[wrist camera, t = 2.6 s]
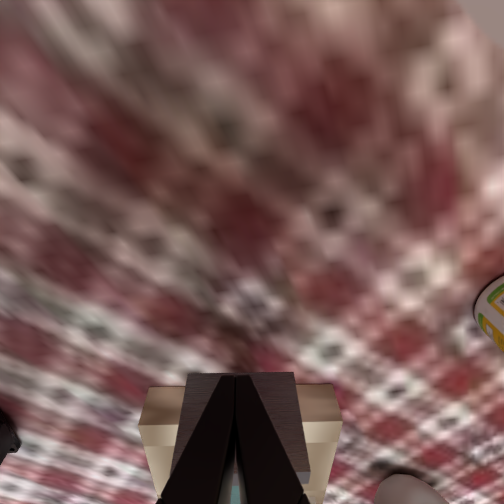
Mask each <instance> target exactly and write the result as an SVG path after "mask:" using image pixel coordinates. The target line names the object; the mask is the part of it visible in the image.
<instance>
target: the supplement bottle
mask: <svg viewBox="0 0 504 504" xmlns="http://www.w3.org/2000/svg"><path fill="white" fill-rule="evenodd" d="M474 315H475V319H476V322H477V324H478V325H479V327H480V328H481V329H482V330H483V331H484V332H485V333H486V334H487V335H488V336H489V337H490V338H491V340H492V341H493V342H494V343H495V344H496V345H497V346H498V347H499V348H500V349H501V350H502V351H503V352H504V276H502V277H500V278H499V279H497V280H496V281H494V282H493V283H491V284H490V285H489V286H488V287H487V288H486V289H485V290H484V291H483V292H482V293H481V295H480V296H479V298H478V300H477V302H476V306H475V310H474Z"/></svg>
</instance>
